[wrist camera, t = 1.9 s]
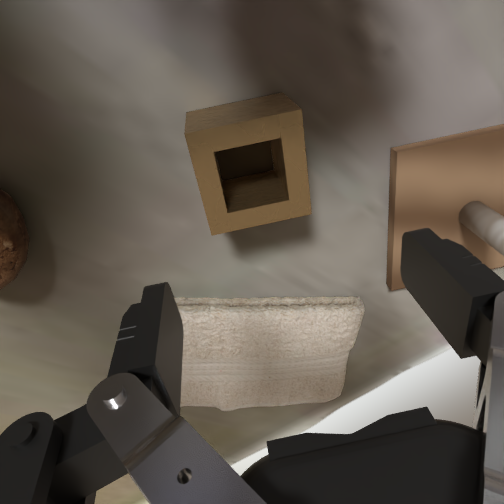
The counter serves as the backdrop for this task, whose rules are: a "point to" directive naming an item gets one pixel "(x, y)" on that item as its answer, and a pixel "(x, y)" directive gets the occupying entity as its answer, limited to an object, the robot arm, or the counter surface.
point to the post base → (449, 195)
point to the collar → (257, 185)
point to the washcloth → (266, 350)
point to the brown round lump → (11, 240)
